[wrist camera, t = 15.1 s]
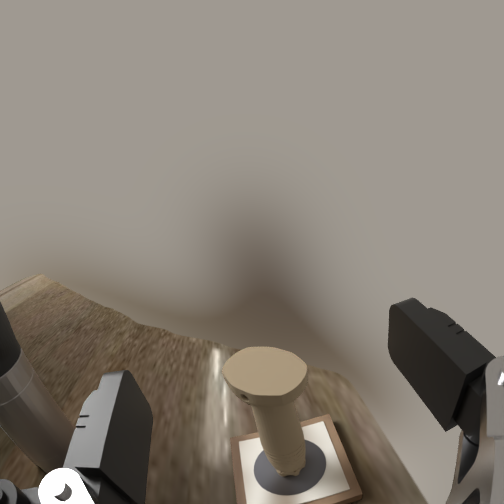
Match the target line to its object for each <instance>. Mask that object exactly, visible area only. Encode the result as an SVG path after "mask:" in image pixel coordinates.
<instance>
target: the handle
mask: <svg viewBox="0 0 504 504" xmlns="http://www.w3.org/2000/svg"><path fill="white" fill-rule="evenodd" d="M222 374H223V376H224V379H225V381H226V383H227V384H228V386H229V387H230V389H231V390H232V392H233V393H234V394H235V395H236V396H237V397H238V398H239V399H241V400H242V401H243V402H245V403H246V404H248V405H251V406H252V410H253V414H254V418H255V421H256V426H257V430H258V434H259V438H260V442H261V445H262V447H263V450H264V452H265V454H266V456H267V458H268V460H269V462H270V463H271V464H272V466H273V467H274V468H275V469H276V471H277V473H278V474H279V475H280V476H282V477H285V476H287V475H294V476H297V475H299V472H300V470H301V469H302V468H304V467H305V464H306V459H305V452H306V450H305V439H304V434H303V430H302V427H301V424H300V421H299V417H298V414H297V411H296V407H295V404H294V400H296V399H297V398H298V397H299V396H300V395H301V394H302V393H303V391H304V390H305V388H306V386H307V384H308V370H307V365H306V364H305V363H304V362H303V361H302V360H301V359H300V358H298V357H297V356H296V355H294V354H293V353H291V352H288V351H284V350H281V349H278V348H273V347H248V348H245V349H243V350H240V351H239V352H237V353H235V354H234V355H233V356H232V357H230V358H229V359H228V360H227V362H226V363H225V364H224V366H223V368H222Z"/></svg>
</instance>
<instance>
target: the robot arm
mask: <svg viewBox="0 0 504 504" xmlns="http://www.w3.org/2000/svg"><path fill="white" fill-rule="evenodd" d="M388 349H389V354H390V357H391V359H392V361H393V362H394V364H395V365H396V366H397V368H398V369H399V370H400V372H401V373H402V374H403V376H404V377H405V378H406V379H407V381H408V382H409V383H410V385H411V386H412V387H413V388H414V390H415V391H416V393H417V394H418V395H419V397H420V398H421V399H422V401H423V402H424V403H425V405H426V406H427V407H428V409H429V410H430V411H431V413H432V414H433V415H434V417H435V418H436V419H437V421H438V422H439V423H440V425H441V426H442V427H443V429H444V430H445V432H446V431H448V430H450V429H451V428H453V427H455V426H456V425H459V427H460V428H461V429H462V430H461V433H460V436H459V445H458V454H457V462H456V468H455V474H454V480H453V485H452V489H451V492H450V495H449V497H448V499H447V502H446V504H504V356H500V357H497V358H496V357H495V356H494V355H493V354H491V353H490V352H489V351H488V350H487V349H486V348H485V347H484V346H482V345H481V344H480V343H479V342H478V341H477V340H476V339H475V338H473V337H472V336H471V335H470V334H469V333H468V332H467V331H464V329H463V328H462V327H461V326H460V325H458V324H456V323H455V321H454V320H452V319H451V318H450V317H449V316H448V315H447V314H445V313H443V312H441V311H438V310H436V309H433V308H428V309H427V308H426V307H425V306H424V305H423V304H421V303H420V302H419V301H418V300H417V299H415V298H410V299H408V300H405V301H402V302H399V303H396V304H394V305H392V306H391V307H390V310H389V333H388ZM152 425H153V416H152V411H151V408H150V405H149V403H148V402H147V400H146V398H145V396H144V395H143V393H142V391H141V390H140V388H139V386H138V384H137V382H136V381H135V379H134V377H133V375H132V374H131V372H130V371H128V370H123V371H116V372H109V373H105V374H104V375H103V376H102V379H101V382H100V385H99V388H98V390H94V391H93V392H92V393H91V394H90V396H89V397H88V398H87V399H86V401H85V402H84V404H83V407H82V410H81V413H80V418H78V421H77V424H76V427H77V428H75V427H74V426H73V425H72V423H71V422H70V421H69V419H68V418H67V417H66V415H65V414H64V413H63V411H62V410H61V409H60V407H59V406H58V405H57V403H56V402H55V400H54V399H53V398H52V396H51V395H50V393H49V392H48V390H47V389H46V387H45V386H44V384H43V383H42V381H41V380H40V378H39V377H38V375H37V374H36V372H35V371H34V369H33V367H32V366H31V364H30V363H29V361H28V359H27V358H26V356H25V354H24V352H23V351H22V349H21V347H20V345H19V343H18V342H17V340H16V338H15V335H14V333H13V330H12V328H11V325H10V322H9V320H8V318H7V315H6V313H5V311H4V309H3V307H2V305H1V302H0V426H1V428H2V429H3V430H4V431H5V432H6V433H7V435H8V436H9V437H10V438H11V439H12V440H13V441H14V443H15V444H16V445H17V446H18V447H19V448H20V449H21V450H22V451H23V452H24V453H25V454H26V455H27V457H28V458H29V459H30V460H31V461H32V462H33V463H34V464H35V465H36V466H39V467H40V468H41V469H42V470H44V471H45V472H46V473H47V474H48V475H46V476H45V478H44V479H43V480H42V482H41V484H40V487H35V488H30V489H24V490H20V489H19V488H17V487H16V486H15V485H14V484H13V483H12V482H10V481H9V480H6V479H0V504H145V497H146V484H147V472H148V461H149V451H150V442H151V433H152Z"/></svg>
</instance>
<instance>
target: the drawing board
mask: <svg viewBox="0 0 504 504" xmlns="http://www.w3.org/2000/svg"><path fill="white" fill-rule="evenodd" d="M300 424H301V427H302V430H303V434H304V439H305V450H306V452H305V459H306V464H305V467H304V468H302V469H301V470H300V472H299V475H297V476H294V475H287V476H285V477H282V476H280V475H279V474H278V473H277V471H276V469H275V468H274V467H273V466H272V464H271V463H270V462H269V460H268V458H267V456H266V454H265V452H264V450H263V447H262V445H261V442H260V438H259V434H258V432H257V433H252V434H247V435H242V436H237V437H232V438H230V441H231V451H232V461H233V471H234V480H235V490H236V498H237V504H349V503H352V502H355V501H358V500H360V499H362V494H363V493H362V491H361V488H360V486H359V484H358V481H357V479H356V476H355V474H354V472H353V469H352V467H351V465H350V462H349V460H348V457H347V455H346V453H345V450H344V448H343V445H342V443H341V441H340V438H339V436H338V434H337V431H336V429H335V426H334V424H333V422H332V419H331V417H330V415H329V414H326V415H323V416H320V417H316V418H313V419H309V420H306V421H302V422H300Z"/></svg>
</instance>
